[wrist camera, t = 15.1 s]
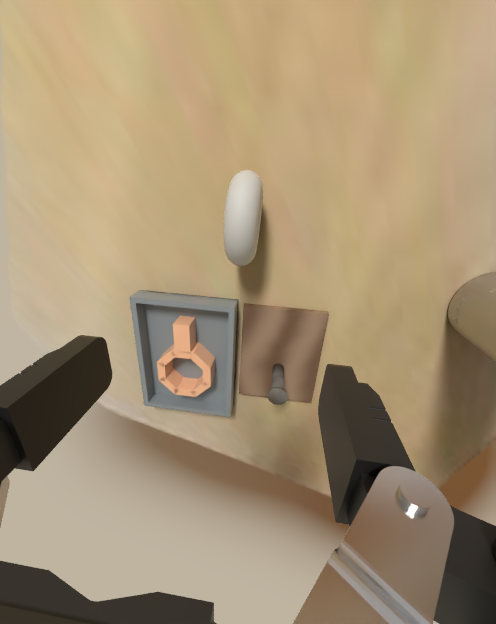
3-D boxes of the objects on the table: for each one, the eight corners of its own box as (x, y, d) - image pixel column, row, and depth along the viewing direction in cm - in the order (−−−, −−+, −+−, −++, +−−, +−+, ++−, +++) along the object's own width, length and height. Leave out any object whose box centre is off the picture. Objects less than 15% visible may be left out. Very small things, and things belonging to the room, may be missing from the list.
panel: (327, 311, 38) (337, 337, 31) (310, 398, 45) (315, 435, 38) (244, 303, 39) (236, 326, 32) (239, 389, 46) (232, 423, 39)
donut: (258, 257, 36) (250, 278, 27) (233, 254, 36) (217, 274, 27) (267, 174, 32) (261, 167, 23) (239, 172, 32) (221, 163, 23)
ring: (214, 318, 40) (209, 328, 37) (215, 386, 45) (210, 398, 42) (161, 313, 41) (152, 322, 38) (167, 380, 46) (160, 392, 43)
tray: (238, 299, 39) (234, 307, 36) (233, 404, 47) (230, 417, 44) (139, 290, 40) (129, 297, 37) (152, 393, 48) (144, 405, 46)
